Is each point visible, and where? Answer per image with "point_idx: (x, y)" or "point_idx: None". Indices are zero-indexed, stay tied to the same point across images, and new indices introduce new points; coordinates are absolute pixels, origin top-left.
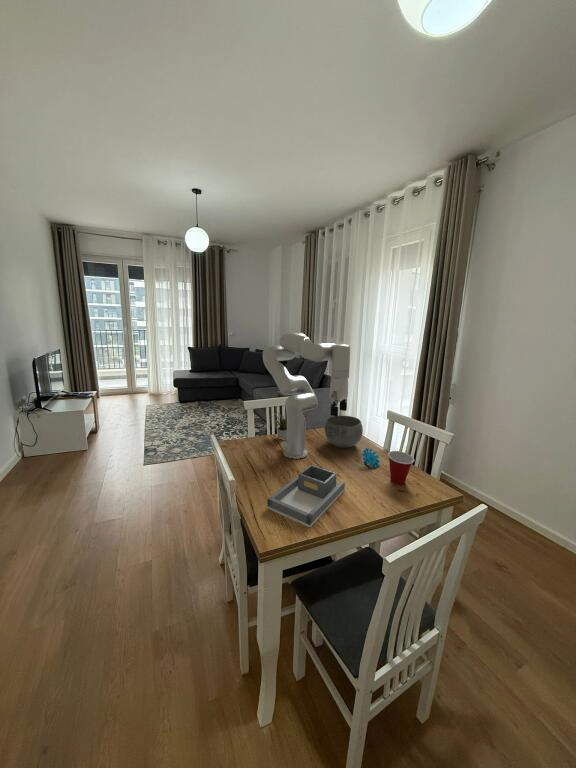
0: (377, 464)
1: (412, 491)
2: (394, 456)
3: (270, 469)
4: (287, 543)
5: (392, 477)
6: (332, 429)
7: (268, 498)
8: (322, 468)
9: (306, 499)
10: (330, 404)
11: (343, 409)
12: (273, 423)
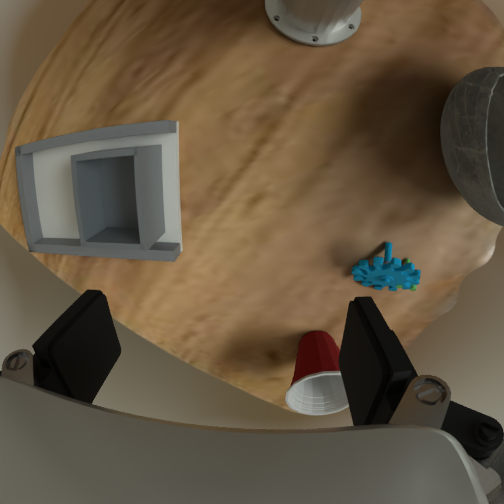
0: (377, 287)
1: (284, 371)
2: None
3: (158, 12)
4: (10, 232)
5: (301, 345)
6: (468, 110)
7: (16, 147)
8: (141, 197)
9: None
10: (2, 364)
11: (344, 347)
12: None
